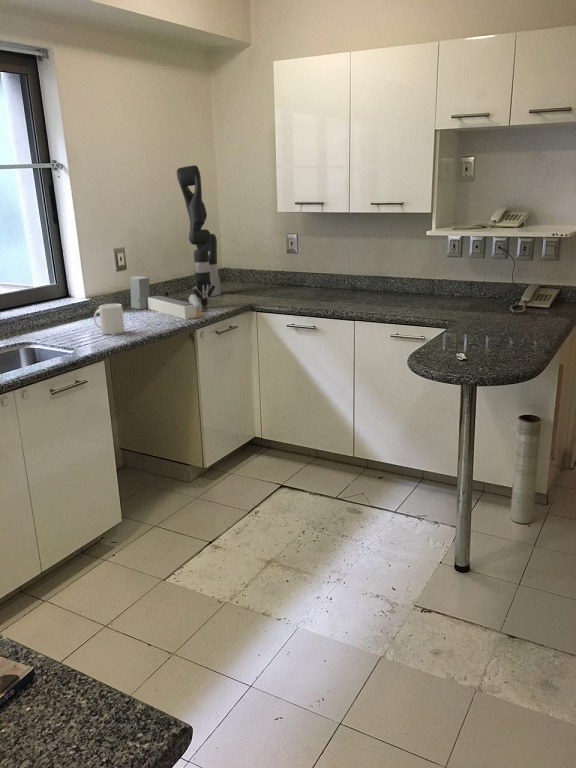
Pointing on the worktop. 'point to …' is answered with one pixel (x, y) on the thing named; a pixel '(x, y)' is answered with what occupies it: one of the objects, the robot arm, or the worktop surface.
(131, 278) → the skincare box
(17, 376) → the worktop surface
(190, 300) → the tube
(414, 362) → the worktop surface
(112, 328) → the mug
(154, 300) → the long cream box
